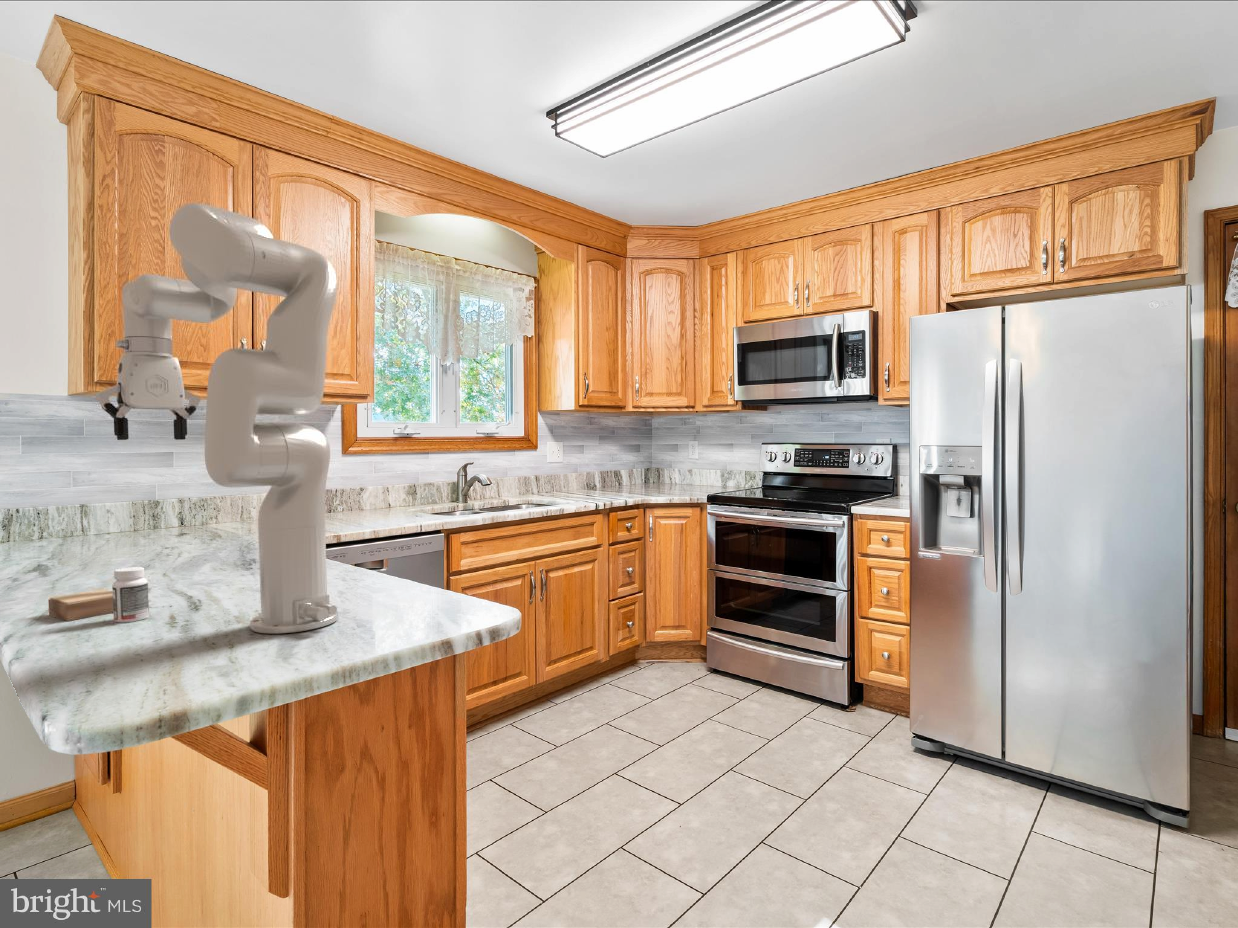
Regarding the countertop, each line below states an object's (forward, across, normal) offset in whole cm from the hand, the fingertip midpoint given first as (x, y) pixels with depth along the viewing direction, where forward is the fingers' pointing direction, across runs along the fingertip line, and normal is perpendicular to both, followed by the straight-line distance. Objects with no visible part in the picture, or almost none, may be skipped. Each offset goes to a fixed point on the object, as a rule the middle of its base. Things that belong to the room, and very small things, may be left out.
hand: (152, 439), depth 129 cm
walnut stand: (+30, -13, -5) cm, 33 cm away
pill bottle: (+30, -11, -17) cm, 36 cm away
